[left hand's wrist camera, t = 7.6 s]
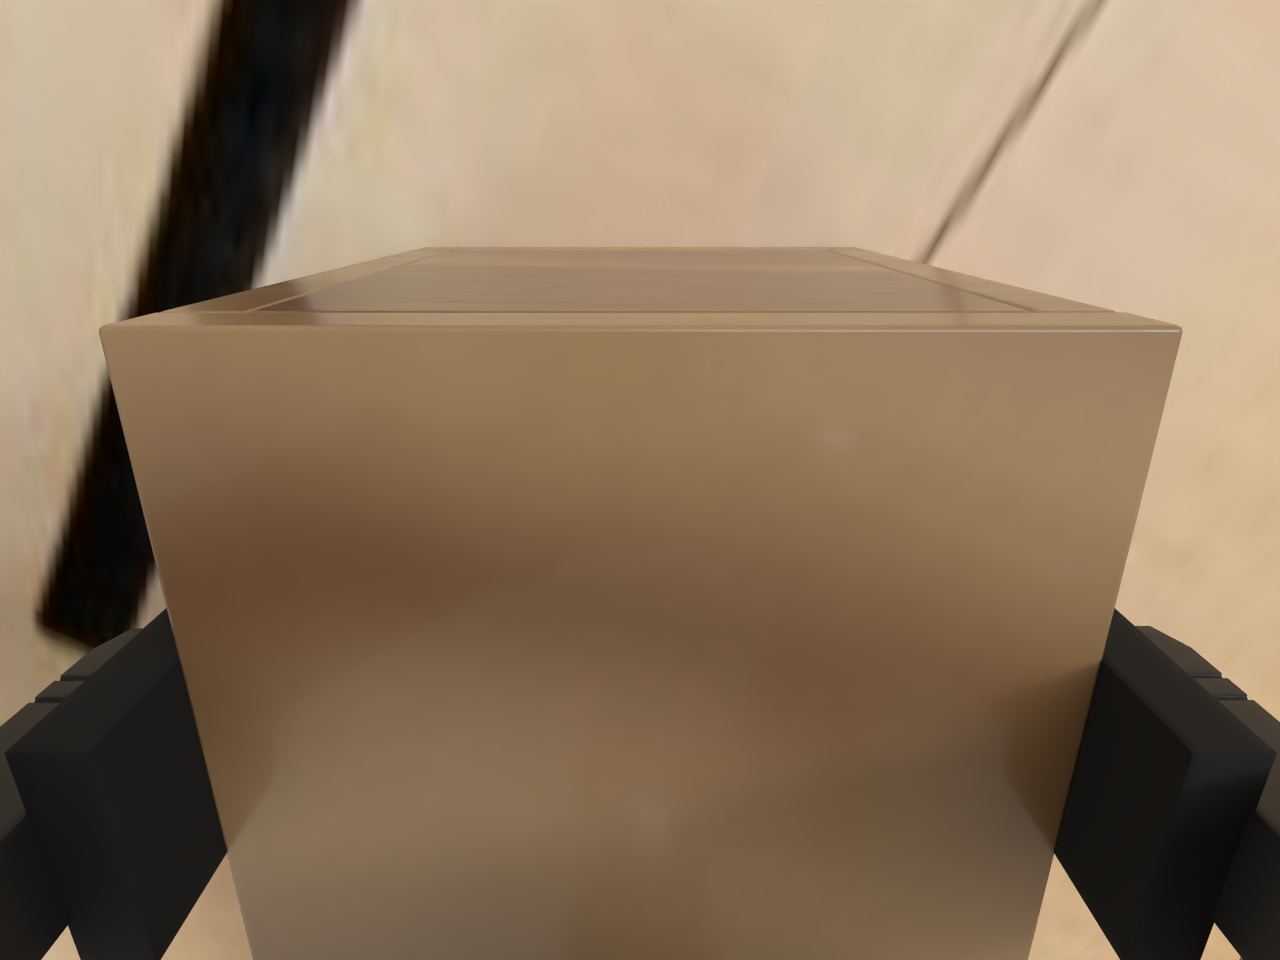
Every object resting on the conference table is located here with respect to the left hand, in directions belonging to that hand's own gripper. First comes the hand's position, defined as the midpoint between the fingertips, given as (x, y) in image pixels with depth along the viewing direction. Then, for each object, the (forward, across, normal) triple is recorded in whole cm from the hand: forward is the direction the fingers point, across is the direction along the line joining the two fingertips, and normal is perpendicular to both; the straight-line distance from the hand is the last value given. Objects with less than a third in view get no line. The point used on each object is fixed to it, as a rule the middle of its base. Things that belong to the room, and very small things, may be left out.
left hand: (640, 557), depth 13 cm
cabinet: (+6, 0, -5) cm, 8 cm away
